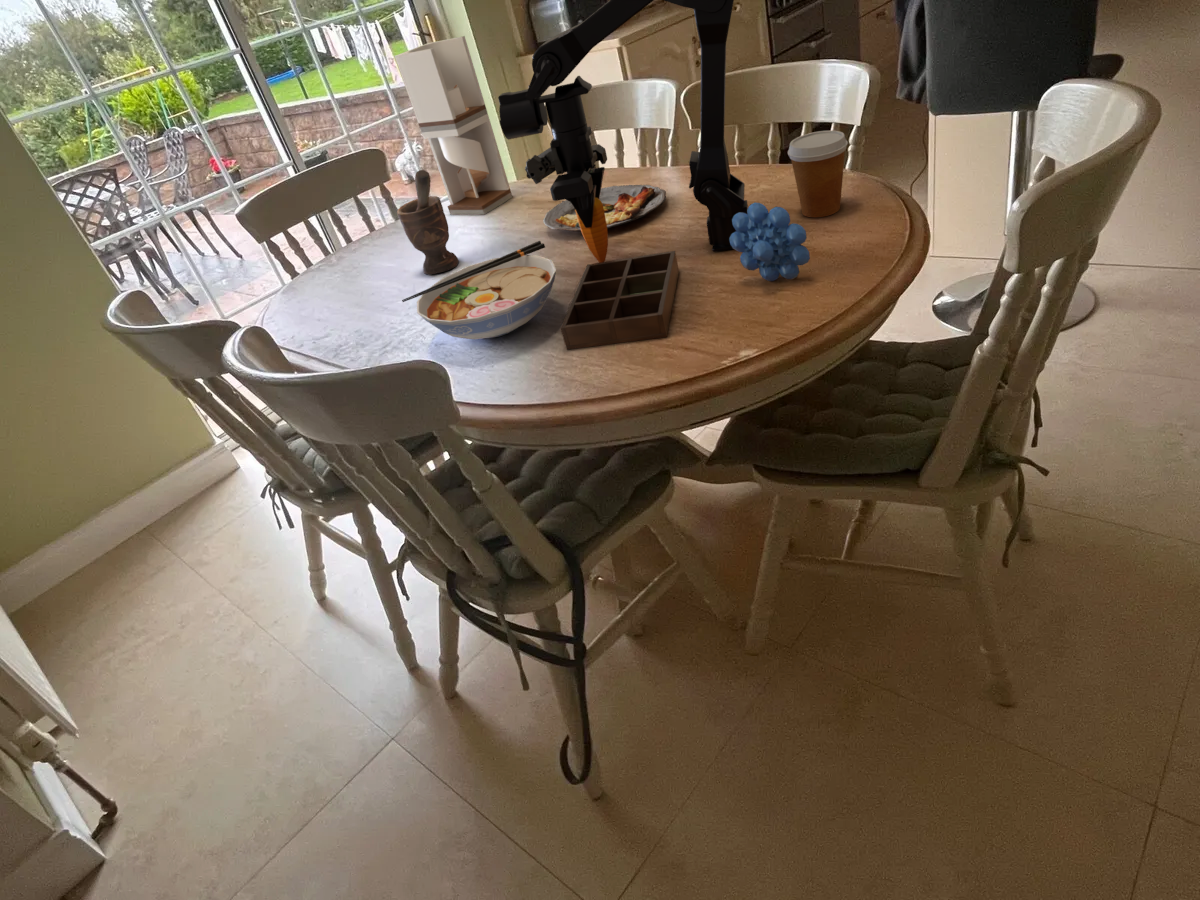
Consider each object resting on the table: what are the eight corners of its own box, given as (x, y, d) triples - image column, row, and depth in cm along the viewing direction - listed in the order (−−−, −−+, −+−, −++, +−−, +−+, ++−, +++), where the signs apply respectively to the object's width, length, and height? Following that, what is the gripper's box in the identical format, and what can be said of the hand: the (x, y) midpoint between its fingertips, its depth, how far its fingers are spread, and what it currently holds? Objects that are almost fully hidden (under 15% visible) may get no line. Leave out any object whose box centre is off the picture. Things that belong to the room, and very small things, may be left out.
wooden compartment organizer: (679, 271, 122) (675, 250, 120) (666, 337, 105) (662, 314, 103) (591, 284, 126) (586, 264, 124) (566, 349, 109) (560, 328, 107)
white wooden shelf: (450, 214, 179) (394, 56, 159) (478, 197, 185) (428, 43, 165) (484, 214, 173) (430, 49, 153) (512, 197, 179) (464, 36, 159)
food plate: (686, 192, 152) (683, 175, 150) (631, 240, 138) (627, 222, 136) (586, 196, 166) (583, 180, 164) (526, 240, 152) (521, 223, 150)
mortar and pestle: (481, 258, 149) (447, 157, 138) (455, 278, 144) (417, 174, 132) (439, 258, 155) (403, 161, 144) (412, 277, 150) (373, 178, 138)
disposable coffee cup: (818, 225, 124) (813, 152, 117) (781, 215, 131) (775, 145, 124) (862, 205, 126) (860, 132, 119) (823, 196, 134) (819, 127, 127)
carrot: (613, 266, 129) (592, 179, 122) (586, 270, 131) (564, 184, 123) (618, 256, 133) (598, 171, 126) (591, 261, 135) (570, 177, 127)
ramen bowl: (444, 384, 109) (424, 335, 104) (413, 332, 127) (395, 288, 122) (596, 321, 114) (583, 272, 110) (545, 279, 132) (532, 235, 128)
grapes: (725, 294, 111) (714, 216, 105) (740, 273, 116) (730, 198, 109) (803, 294, 106) (797, 212, 99) (815, 272, 110) (810, 193, 103)
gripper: (535, 121, 129) (558, 209, 138) (507, 154, 114) (535, 250, 123) (597, 108, 126) (616, 199, 135) (576, 140, 111) (600, 239, 120)
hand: (591, 221), depth 128 cm, fingers closed on carrot, 5 cm apart
